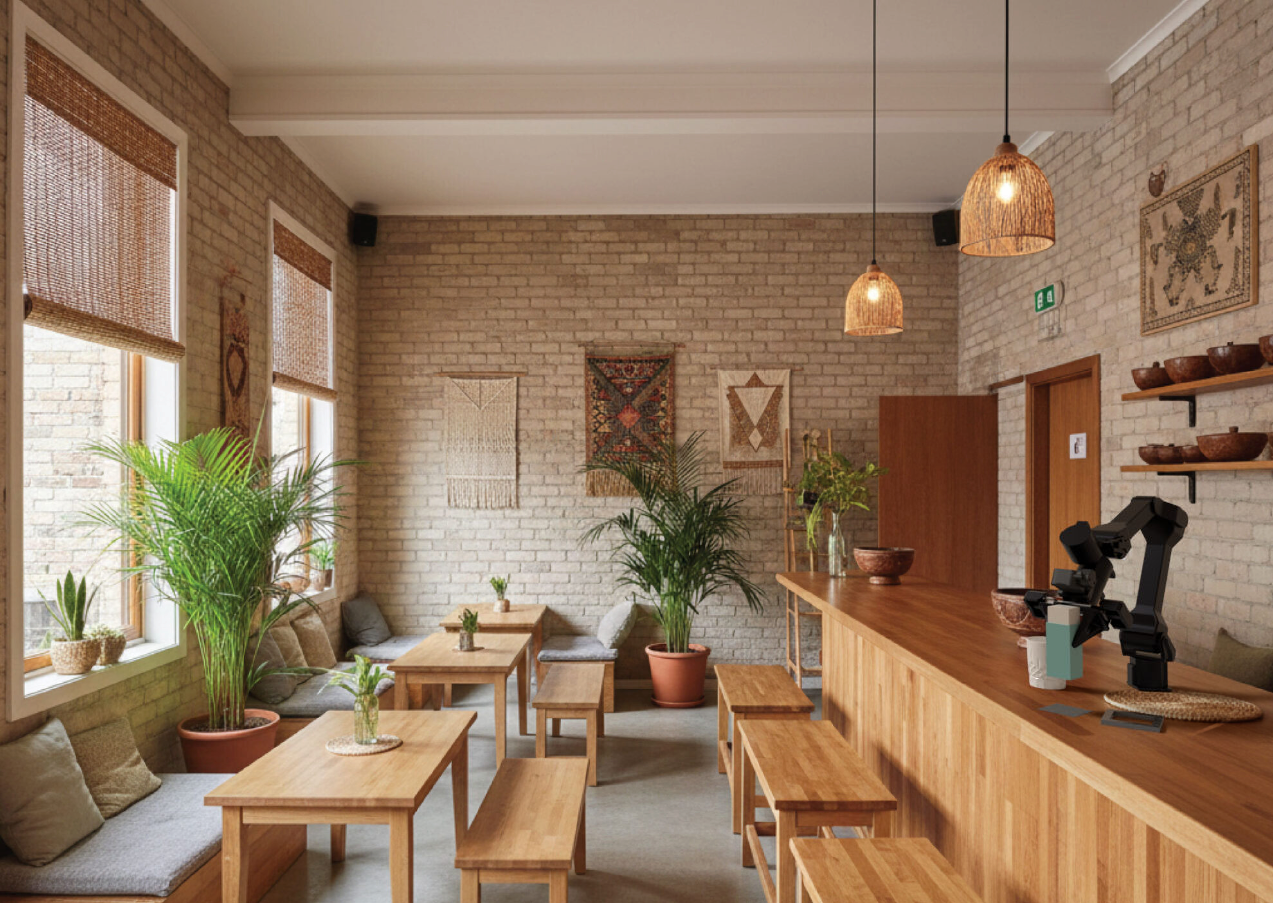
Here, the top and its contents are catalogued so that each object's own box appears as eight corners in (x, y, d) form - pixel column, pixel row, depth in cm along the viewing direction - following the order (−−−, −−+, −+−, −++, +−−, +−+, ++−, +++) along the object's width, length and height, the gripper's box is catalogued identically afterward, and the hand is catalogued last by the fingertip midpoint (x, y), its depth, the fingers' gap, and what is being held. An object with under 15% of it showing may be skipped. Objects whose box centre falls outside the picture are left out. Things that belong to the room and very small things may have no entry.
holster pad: (1056, 705, 169) (1056, 703, 169) (1093, 713, 163) (1093, 711, 163) (1037, 711, 164) (1037, 709, 164) (1074, 720, 159) (1074, 717, 159)
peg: (1059, 672, 167) (1058, 604, 167) (1082, 677, 163) (1081, 607, 164) (1046, 675, 164) (1045, 606, 165) (1070, 680, 161) (1069, 609, 161)
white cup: (1073, 693, 178) (1072, 644, 179) (1031, 691, 180) (1031, 642, 180) (1062, 684, 186) (1061, 637, 186) (1023, 682, 188) (1022, 635, 188)
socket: (1099, 712, 164) (1099, 705, 164) (1174, 722, 157) (1174, 715, 157) (1089, 727, 154) (1089, 720, 154) (1169, 739, 147) (1169, 731, 147)
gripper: (1027, 549, 174) (996, 610, 168) (1124, 556, 159) (1095, 623, 152) (1049, 586, 179) (1019, 647, 172) (1145, 596, 164) (1117, 663, 157)
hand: (1060, 644), depth 163 cm, fingers closed on peg, 4 cm apart
